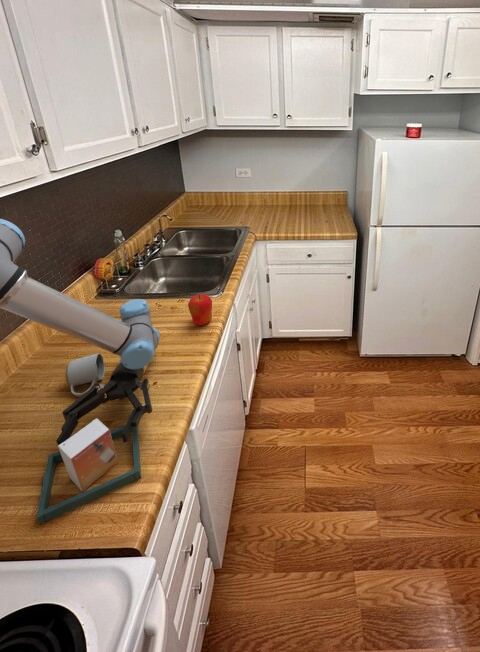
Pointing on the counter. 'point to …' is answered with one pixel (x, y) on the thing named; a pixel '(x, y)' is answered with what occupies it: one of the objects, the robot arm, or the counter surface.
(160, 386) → the counter surface
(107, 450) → the small box
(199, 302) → the apple
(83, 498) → the empty rectangular frame
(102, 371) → the ceramic mug
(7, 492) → the counter surface
